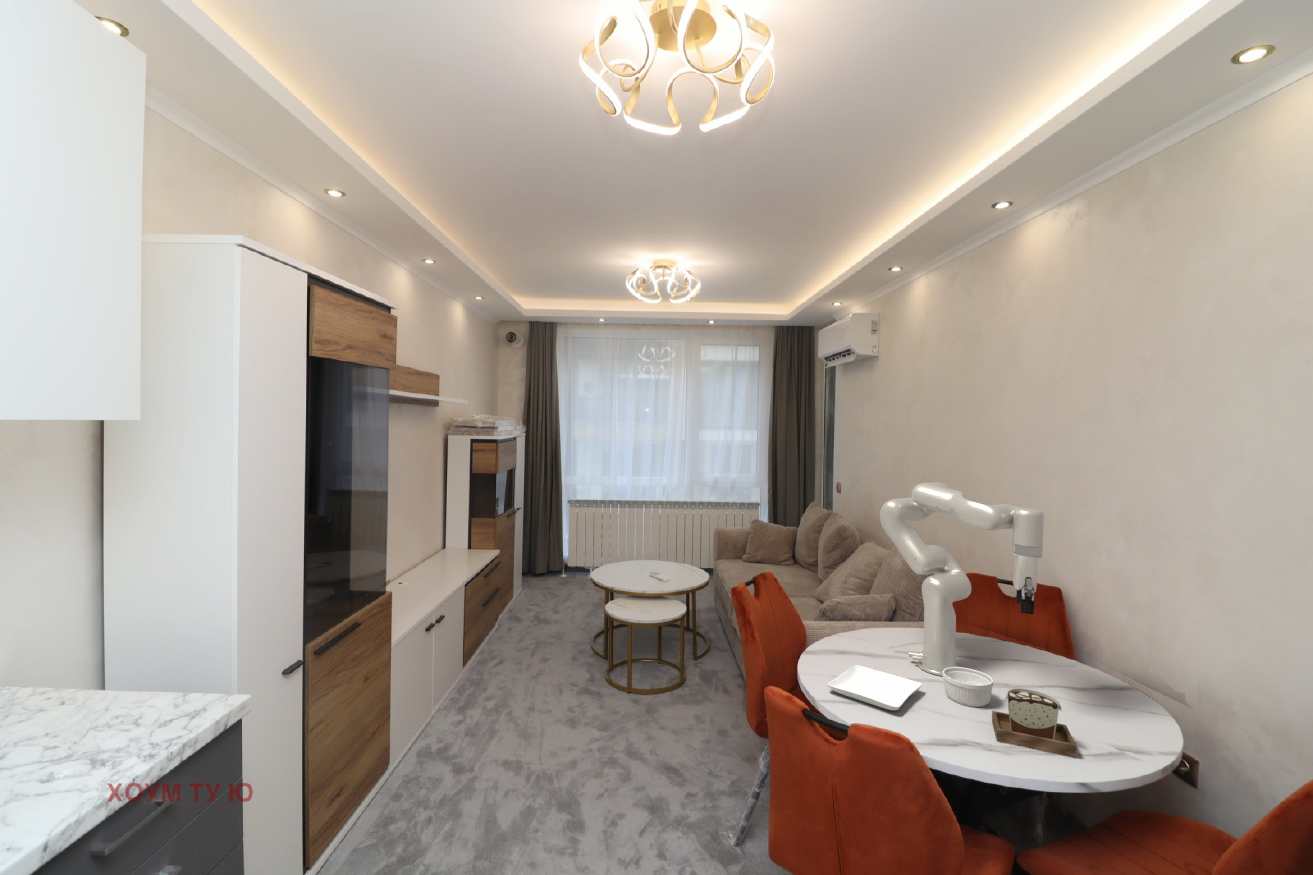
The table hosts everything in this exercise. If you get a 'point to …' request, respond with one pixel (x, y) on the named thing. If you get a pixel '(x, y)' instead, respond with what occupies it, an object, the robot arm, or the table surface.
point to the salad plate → (874, 687)
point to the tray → (1034, 737)
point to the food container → (1032, 712)
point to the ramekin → (967, 686)
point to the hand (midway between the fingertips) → (1024, 608)
